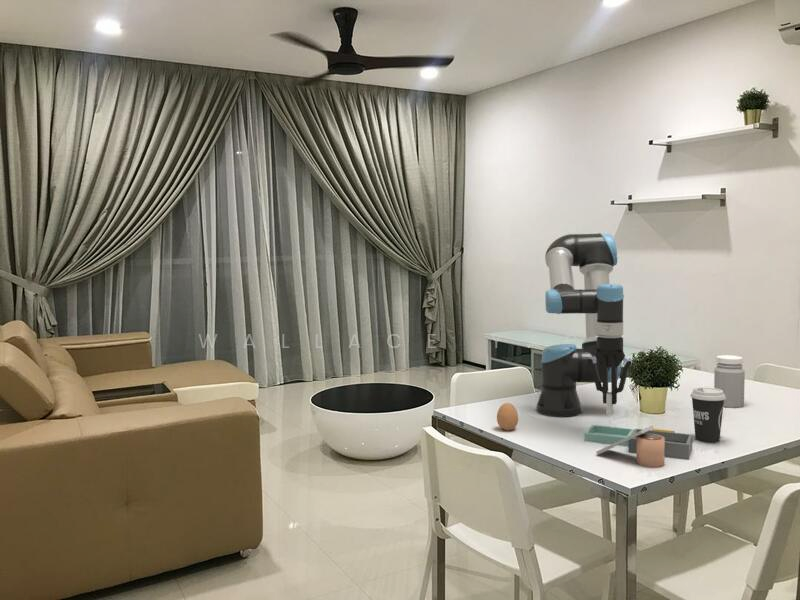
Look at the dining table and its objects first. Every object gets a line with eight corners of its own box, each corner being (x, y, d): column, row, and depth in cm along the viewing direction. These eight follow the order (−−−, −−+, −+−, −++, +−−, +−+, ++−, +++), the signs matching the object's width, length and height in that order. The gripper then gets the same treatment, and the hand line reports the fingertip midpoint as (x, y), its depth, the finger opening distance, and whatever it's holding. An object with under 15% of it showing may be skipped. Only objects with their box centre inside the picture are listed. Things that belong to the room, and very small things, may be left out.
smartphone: (609, 449, 189) (608, 445, 190) (654, 428, 179) (652, 425, 180) (597, 454, 184) (595, 451, 185) (642, 433, 174) (640, 430, 175)
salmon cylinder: (634, 465, 176) (634, 438, 175) (638, 457, 182) (638, 432, 181) (662, 468, 172) (662, 441, 172) (666, 460, 179) (666, 435, 178)
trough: (584, 441, 198) (584, 433, 198) (592, 432, 207) (592, 424, 207) (628, 446, 192) (628, 438, 192) (634, 437, 201) (634, 429, 201)
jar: (750, 408, 233) (751, 357, 232) (729, 411, 230) (730, 360, 229) (727, 402, 243) (728, 354, 241) (707, 405, 239) (708, 356, 238)
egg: (492, 430, 212) (492, 402, 211) (506, 426, 216) (506, 399, 216) (508, 434, 207) (508, 406, 206) (522, 430, 211) (522, 402, 211)
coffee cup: (695, 433, 204) (695, 385, 202) (728, 438, 198) (729, 389, 196) (685, 441, 196) (686, 391, 195) (720, 446, 190) (721, 395, 189)
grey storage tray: (628, 452, 187) (628, 436, 187) (635, 441, 197) (635, 426, 196) (688, 459, 180) (689, 442, 179) (692, 448, 189) (692, 432, 189)
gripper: (584, 336, 197) (584, 415, 199) (630, 338, 191) (630, 419, 192) (590, 333, 204) (590, 409, 205) (635, 335, 197) (634, 413, 199)
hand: (609, 414), depth 199 cm, fingers closed
